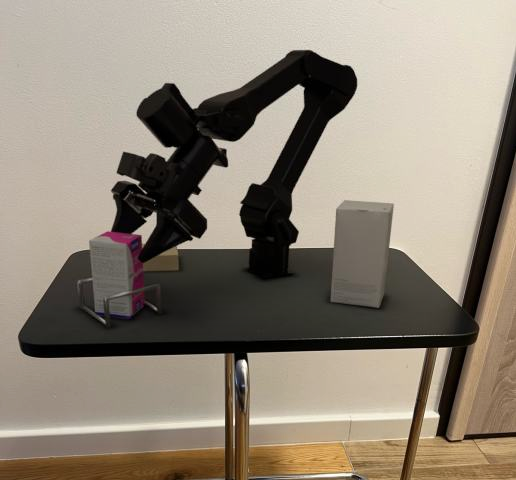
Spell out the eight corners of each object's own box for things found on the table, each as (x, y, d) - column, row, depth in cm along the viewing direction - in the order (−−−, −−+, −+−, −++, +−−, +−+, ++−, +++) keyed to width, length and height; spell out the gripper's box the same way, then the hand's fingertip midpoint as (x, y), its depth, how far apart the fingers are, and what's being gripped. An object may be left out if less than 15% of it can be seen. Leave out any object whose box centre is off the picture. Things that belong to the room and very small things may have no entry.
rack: (132, 295, 88) (130, 268, 86) (162, 313, 82) (161, 284, 80) (79, 308, 83) (76, 280, 81) (107, 328, 77) (104, 297, 75)
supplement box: (131, 320, 79) (125, 243, 74) (94, 315, 81) (85, 240, 75) (147, 305, 85) (142, 233, 80) (111, 301, 86) (104, 230, 81)
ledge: (177, 257, 108) (176, 242, 106) (178, 270, 100) (178, 254, 99) (114, 259, 106) (113, 244, 104) (112, 272, 98) (110, 256, 97)
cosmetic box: (384, 296, 91) (397, 203, 84) (378, 310, 86) (392, 211, 79) (335, 289, 94) (344, 198, 87) (327, 302, 88) (335, 206, 81)
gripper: (117, 125, 82) (55, 207, 80) (187, 136, 69) (115, 234, 67) (164, 175, 90) (109, 250, 88) (235, 193, 77) (172, 282, 75)
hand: (124, 253), depth 79 cm, fingers open, 9 cm apart
